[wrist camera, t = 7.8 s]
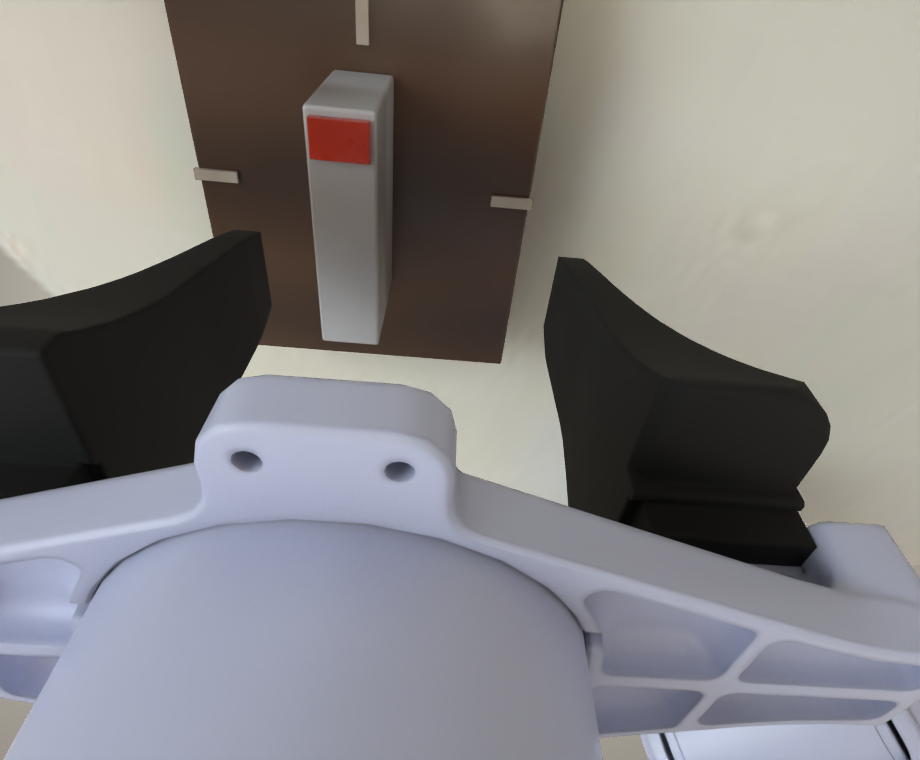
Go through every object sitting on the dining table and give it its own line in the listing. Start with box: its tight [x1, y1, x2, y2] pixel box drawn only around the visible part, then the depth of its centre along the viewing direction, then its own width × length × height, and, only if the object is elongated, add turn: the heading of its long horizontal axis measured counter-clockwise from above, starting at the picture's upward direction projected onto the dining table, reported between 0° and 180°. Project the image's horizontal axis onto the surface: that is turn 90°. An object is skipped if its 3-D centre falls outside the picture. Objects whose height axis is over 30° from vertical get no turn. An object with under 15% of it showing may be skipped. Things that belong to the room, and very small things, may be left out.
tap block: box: [164, 0, 564, 364], centre depth 20 cm, size 14×11×3 cm
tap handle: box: [302, 70, 394, 345], centre depth 17 cm, size 7×2×4 cm, turn 175°
